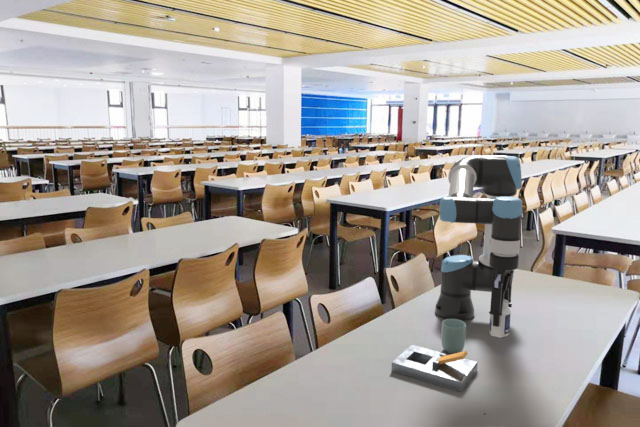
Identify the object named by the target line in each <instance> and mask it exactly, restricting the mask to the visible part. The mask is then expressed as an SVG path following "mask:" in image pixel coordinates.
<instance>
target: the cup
mask: <svg viewBox="0 0 640 427" xmlns="http://www.w3.org/2000/svg"><path fill="white" fill-rule="evenodd" d="M440 332H441V333H440V334H441V338H440V339H441V345H442V348H443V351H445V352H446V353H447V354H455V353H459V352H463V351H464V348H465V344H466V338H467V323H466V322H464V320H458V319H446V318H445V319H444V320H442V322H441V330H440Z"/></svg>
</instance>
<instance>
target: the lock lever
mask: <svg viewBox="0 0 640 427" xmlns="http://www.w3.org/2000/svg"><path fill="white" fill-rule="evenodd" d="M467 355H468V351H467V350H462V351H461V352H459V353H455V354H451V353H449V355H446V356H439V357H438V358H437V359H436V360H435V361H439V364H443V363H448V362H452V361H457V360H461V359H464V358H465V359H466V357H467Z"/></svg>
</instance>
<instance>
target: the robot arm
mask: <svg viewBox="0 0 640 427" xmlns="http://www.w3.org/2000/svg"><path fill="white" fill-rule="evenodd" d="M521 168H522V167H521V161H520V159H519V157H517V156H513V155H512V156H511V155H480V154H476V155H469V156H467V157H463V158H462V159H459V160H458V161H456V162H455V163H454V164H453V165H452V166H451V167H450V170H449V171H448V183H449V191H448V196H442V197H441V198H440V201H439V220H440V221H441V222H446V223H451V224H452V223H453V224H454V223H457V224H458V223H459V224H479V225H484V232H483V233H484V235H483V248H482V250H483V252H482V254H480V255H479V257H478V260H474V259H473V257H472V256H471V255H466V254H456V255H450V256H447V257H445V258H444V259H442V262H441V269H440V272H441V276H440V293H439V296H438V299H437V301H436V304H435V309H434V312H435V314H436V315H437V316H438V317H441V318H442V319H445V320H446V319H458V320H461V321H466V320H467V321H468V320H470V318H471V319H472V318H474V316H475V307H474V304H473V300H472V297H471V296H472V295H471V294H472V291H475V292H476V291H477V292H486V293H491V296H490V297H491V298H490V311H488V314H489V315H490V314H492V325H491V333H490V336H492V337H497V338H499V339H500V338H502V337H501V335H502V321H503V315H502V308H503V301H504V299H506V300H508V302H509V303H508V308H512V307H513V306H512V305H513V304H511V302H512V287H513V286H512V285H513V280H514V273H515V270H517V269H518V268H519V261H520V260H519V256H520V255H519V254H520V248H521V247H520V246H521V245H520V244H521V228H522V216H523V212H524V211H523V201H522V199H521V198H519V197H515V196H516V195H517V193H518V190H521V189H522V188H523V185H522V184H523V183H522V181H523V179H522V169H521ZM474 188H480V189H482V193H483V195H485V196H486V198H484V197H481V198H480V197H478V198H477V197H474Z"/></svg>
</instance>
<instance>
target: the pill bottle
mask: <svg viewBox="0 0 640 427" xmlns="http://www.w3.org/2000/svg"><path fill="white" fill-rule="evenodd" d="M508 303H509V302H508V300H506V299H504V301H503V308H502V315H503V321H502V335H501V338H503V337H508V336H509V335H510V326H511V309H510V307H508ZM509 304H510V303H509ZM491 325H492V314H489V332H488V333H489V334H491Z"/></svg>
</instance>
